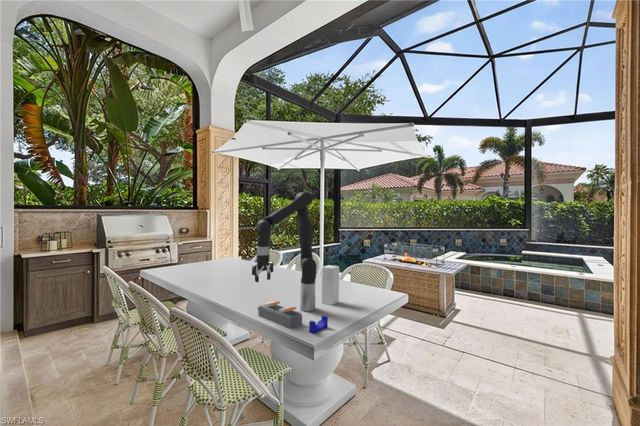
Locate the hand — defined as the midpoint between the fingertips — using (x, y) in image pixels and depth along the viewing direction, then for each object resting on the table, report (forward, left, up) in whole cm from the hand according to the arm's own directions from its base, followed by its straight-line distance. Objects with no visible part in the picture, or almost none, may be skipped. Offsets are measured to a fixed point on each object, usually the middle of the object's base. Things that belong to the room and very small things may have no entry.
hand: (262, 280), depth 181 cm
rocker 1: (-6, +2, -14) cm, 15 cm away
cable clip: (-30, +23, -21) cm, 44 cm away
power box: (-8, +5, -21) cm, 23 cm away
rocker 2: (-15, +13, -14) cm, 24 cm away
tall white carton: (-45, -23, -21) cm, 55 cm away
